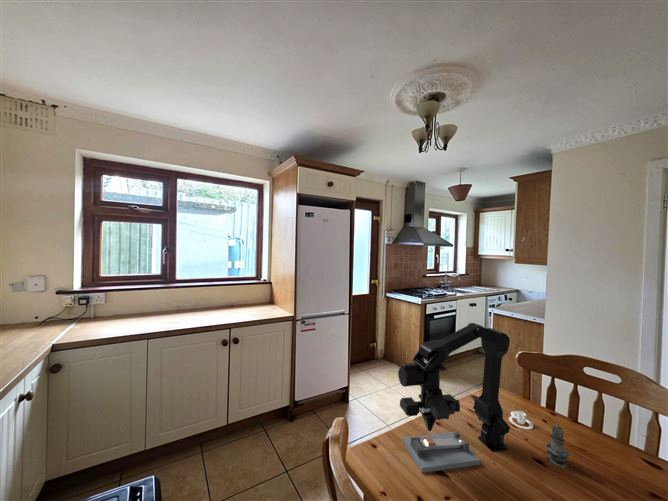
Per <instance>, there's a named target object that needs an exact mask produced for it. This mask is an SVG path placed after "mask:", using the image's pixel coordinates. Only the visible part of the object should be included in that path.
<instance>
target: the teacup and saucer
mask: <svg viewBox="0 0 668 501" xmlns="http://www.w3.org/2000/svg"><path fill="white" fill-rule="evenodd" d="M510 415H511V416H508V421H509V422H510V423H511V424H512V425H514V426H515V427H518V428H521V429H525V430H531V429H533V428H534V424H533V423H532V422H531V421H530V420H528V419H527V414H526V413H525V412H524V411H522V410H517V411H515V410H514V411H511V412H510ZM512 418H514V419H515V420H516V421H517V423H518V424H517V423H516V422H514V419H512ZM525 423H527V424H528V426H521V425H525ZM519 424H520V425H519Z"/></svg>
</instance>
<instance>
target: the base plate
mask: <svg viewBox="0 0 668 501" xmlns="http://www.w3.org/2000/svg"><path fill="white" fill-rule="evenodd" d="M424 437H431V438H432V439H447V438H457V437H460V438H461V433H460V432H459V431H450V432H442V433H431V434H422V435H414V436H413V435H412V436H405V437H402V443H403V445H404V446H405V448H406V450H407V451H408V453H409V455H410V456H411V458H412V460H413V461H414V463H415V464H416V467H417V468H418V469H419V472H420V473H422V474H423V473H424V474H425V473H431V472H439V471H445V470H453V469H460V468H468V467H473V466H481V459H480V458H479V457H478V456H477V455H476V454H475V452H474V451H473V450H472V449H471V448H470V442H468V441H464V442H463V448H443V449H427V448H423V447H422V445H421V444H420V442H419V441H420V440H424Z"/></svg>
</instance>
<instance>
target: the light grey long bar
mask: <svg viewBox="0 0 668 501" xmlns="http://www.w3.org/2000/svg"><path fill="white" fill-rule="evenodd" d="M419 442H420V444H421V445H422V447H423V448H427V449H443V448H463V442H465V441H464V440H462V438H461V436H460V437H457V438H447V439H432V438H431V437H424V440H420V441H419Z"/></svg>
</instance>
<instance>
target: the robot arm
mask: <svg viewBox="0 0 668 501" xmlns="http://www.w3.org/2000/svg"><path fill="white" fill-rule="evenodd" d="M507 334H508V333H505V332H502V331H500V330H497V329H494V328H491V327H487V328H486V327H484V326H483V325H481V324H478V323H475V322H469V323H468V324H467V325H466V326H464V327H462V328H461V329H459V330H456V331H455V332H453V333H450V334H449V335H446V336H444V337H443V338H440V339H431V340H429V341H425V342H423V343H421V344H420V346H419V349H418V350H417V352H416V353H415V355H414V356H413V358H412V359H411V360H412V362H411V363H407V362H402V363H401V367H399V368H398V372H397V374H398V375H397V376H398V377H397V378H398V381H399V384H400V385H401V386H402V387H414V386H420V394H418V398H419V399H420V400H418V401H415V399H414V398H413V397H411V396H410V397H401V398H400V400H399V407H400V408H401V409H402V411H403V412H404V414H405V415H406V416H408V417H412V416H413V417H415V416H416V417H417V416H418V415H419V414H421V415H422V420H423V422H424V425H425V426H426V429H427V431H428V432H431V431H432V429H433V428H434V426H435V423H436V420H437V421H441V420H448V419H450V415H455V413H457V412H458V413H459V412H461V404H460V402H459V401H458V400H457V399H456V398H455V397H454V396H453V395H451V394H448V393H447V394H443V389H441V386H440V385H441V384H440V383H441V382H440V381H441V378H440V377H441V371H446V370H447V368H446V366H445V365H443V363H444V362H446V361H447V360H448V358H449V356H450V355H451V354H452V353H453V352H455V351H457V350H459V349H461V348H462V347H464V346H466V345H468V344H470V343H471V342H473V341H474V342H475V340H477V339H479V338H480V340H481V344H480V345H481V346H482V349H483V351H484V366H483V367H484V368H483V376H482V389H481V394H480V396H478V397H474V399H473V400H474V401H473V402H474V403H473V404H474V405H473V409H474V413H475V415H476V417H477V419H478V420H479V421H480V422H482V423H481V428H480V435H479V436H478V437H477V438H478V440H480V442H482V443H483V444H484V446H485V447H487V449H488V450H490V451H491V452H495V451H502V450H508V446H507V445H506V444H505V436H506V434H509V432H510V429H511V426H510V425H509V424H508V423H507V422H506V421H505V420H504V413H503V412H504V410H503V408H502V405H501V402H500V401H499V394H500V385H501V384H500V383H501V371H502V359H503V357H504V356H505V355H506V354H507V353H508V351H509V347H510V343H511V342H510V341H511V340H510V337H509V336H508V335H507ZM422 359H423V360H422ZM424 360H425V361H426V362H425V361H424Z"/></svg>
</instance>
